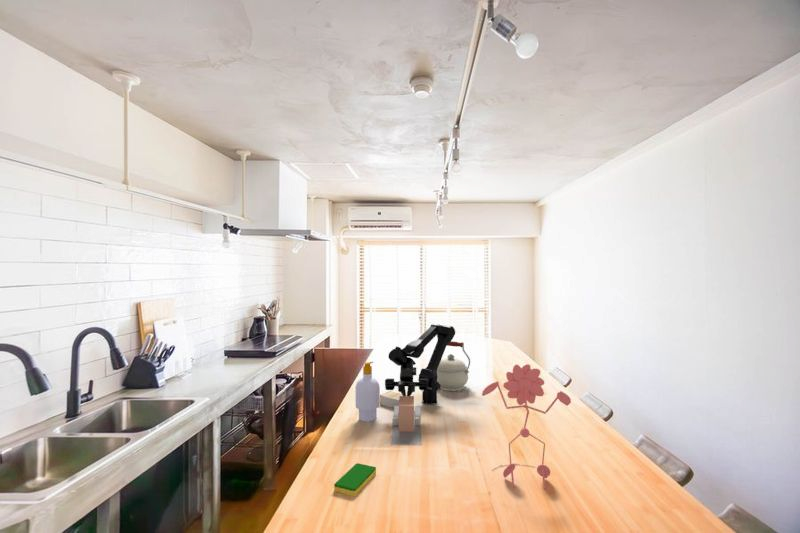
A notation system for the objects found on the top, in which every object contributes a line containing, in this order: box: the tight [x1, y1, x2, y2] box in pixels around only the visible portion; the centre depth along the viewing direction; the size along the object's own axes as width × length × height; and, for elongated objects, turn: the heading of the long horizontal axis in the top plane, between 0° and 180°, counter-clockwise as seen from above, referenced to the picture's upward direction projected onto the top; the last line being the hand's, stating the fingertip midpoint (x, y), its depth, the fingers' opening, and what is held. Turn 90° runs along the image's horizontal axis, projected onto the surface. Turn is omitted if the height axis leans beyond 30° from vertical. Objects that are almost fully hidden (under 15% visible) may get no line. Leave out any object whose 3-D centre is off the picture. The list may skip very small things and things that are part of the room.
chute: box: [390, 405, 423, 446], centre depth 162 cm, size 11×34×3 cm, turn 178°
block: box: [399, 395, 415, 432], centre depth 162 cm, size 6×12×10 cm, turn 178°
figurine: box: [481, 363, 572, 490], centre depth 124 cm, size 15×26×35 cm, turn 84°
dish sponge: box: [333, 462, 377, 497], centre depth 121 cm, size 7×14×2 cm, turn 157°
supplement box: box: [380, 390, 407, 409], centre depth 187 cm, size 8×5×13 cm
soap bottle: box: [355, 361, 381, 422], centre depth 171 cm, size 10×10×24 cm
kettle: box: [437, 340, 471, 392], centre depth 216 cm, size 25×18×25 cm
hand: (406, 402), depth 169 cm, fingers closed, pressing on block
